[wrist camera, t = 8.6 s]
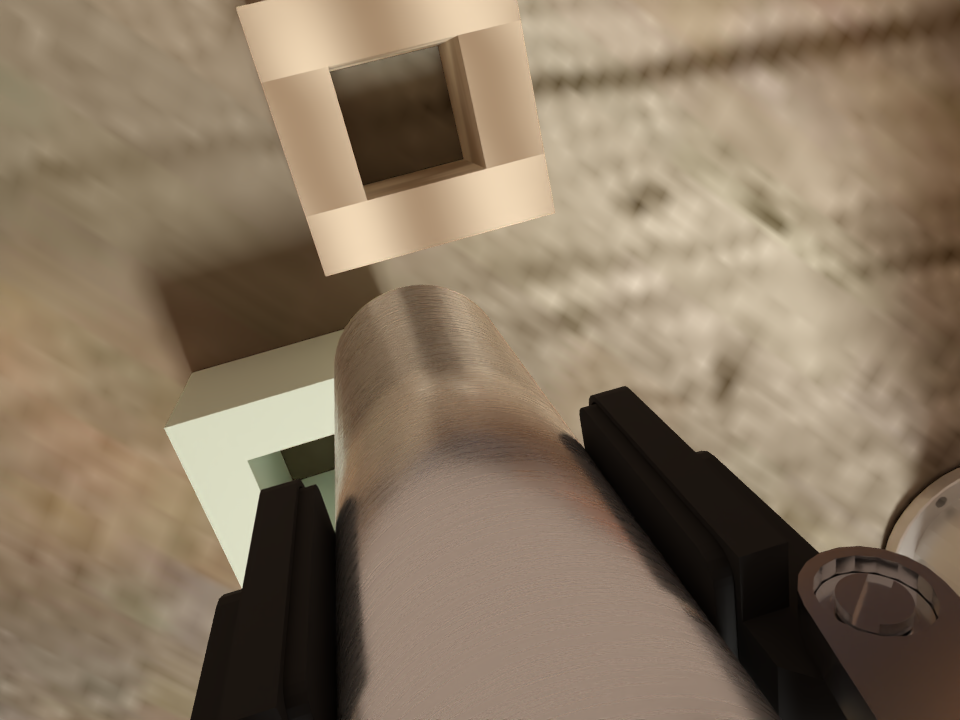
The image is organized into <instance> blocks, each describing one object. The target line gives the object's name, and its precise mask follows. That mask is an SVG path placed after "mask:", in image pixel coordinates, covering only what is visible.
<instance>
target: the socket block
mask: <svg viewBox="0 0 960 720" xmlns="http://www.w3.org/2000/svg"><path fill="white" fill-rule="evenodd" d="M236 10H237V13H238V16H239V19H240V22H241V25H242V28H243V31H244V34H245V37H246V40H247V43H248V46H249V49H250V52H251V55H252V58H253V61H254V64H255V67H256V70H257V73H258V76H259V79H260V82H261V85H262V88H263V91H264V94H265V97H266V100H267V103H268V106H269V109H270V112H271V114H272V117H273V120H274V123H275V126H276V129H277V132H278V135H279V138H280V141H281V144H282V147H283V150H284V153H285V156H286V159H287V162H288V165H289V168H290V171H291V174H292V177H293V180H294V183H295V186H296V189H297V192H298V195H299V198H300V201H301V204H302V207H303V210H304V213H305V216H306V219H307V222H308V225H309V228H310V231H311V234H312V237H313V240H314V243H315V246H316V249H317V252H318V255H319V258H320V261H321V264H322V267H323V270H324V273H325V276H329V275H333V274H337V273H340V272H344V271H348V270H351V269H355V268H358V267H362V266H366V265H369V264H373V263H376V262H380V261H384V260H387V259H391V258H394V257H398V256H402V255H405V254H409V253H413V252H416V251H420V250H423V249H427V248H431V247H434V246H438V245H441V244H445V243H449V242H452V241H456V240H459V239H463V238H467V237H470V236H474V235H477V234H481V233H485V232H488V231H492V230H496V229H499V228H503V227H506V226H510V225H514V224H517V223H521V222H524V221H528V220H532V219H535V218H539V217H542V216H546V215H550V214H553V213H555V209H554V204H553V198H552V193H551V187H550V181H549V176H548V170H547V165H546V159H545V153H544V148H543V142H542V137H541V131H540V125H539V120H538V114H537V109H536V103H535V97H534V92H533V86H532V81H531V75H530V70H529V64H528V58H527V53H526V47H525V42H524V36H523V30H522V25H521V19H520V14H519V8H518V2H517V0H265V1H261V2H256V3H252V4H248V5H243V6H239V7H236ZM434 46H438V49H439V53H440V58H441V62H442V66H443V71H444V75H445V80H446V84H447V88H448V93H449V97H450V101H451V106H452V110H453V115H454V119H455V123H456V128H457V132H458V137H459V141H460V145H461V150H462V154H463V159H462V160H458V161H454V162H450V163H447V164H443V165H439V166H435V167H431V168H428V169H424V170H420V171H416V172H412V173H409V174H405V175H401V176H397V177H393V178H390V179H386V180H382V181H378V182H374V183H371V184H367V185H363V184H362V181H361V178H360V174H359V171H358V167H357V164H356V160H355V157H354V154H353V150H352V147H351V143H350V140H349V137H348V133H347V130H346V126H345V123H344V119H343V116H342V113H341V109H340V106H339V102H338V99H337V96H336V92H335V89H334V85H333V82H332V78H331V75H330V72H331V71H335V70H339V69H343V68H347V67H351V66H355V65H359V64H364V63H368V62H372V61H376V60H380V59H384V58H388V57H392V56H396V55H401V54H405V53H409V52H413V51H417V50H421V49H425V48H429V47H434Z"/></svg>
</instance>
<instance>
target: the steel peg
mask: <svg viewBox="0 0 960 720" xmlns="http://www.w3.org/2000/svg"><path fill="white" fill-rule="evenodd" d="M334 435H335V559H336V682H337V720H782V719H781V718H780V717H779V715H778V714H777V713H776V711H775V710H774V708H773V707H772V706H771V704H770V703H769V702H768V700H767V699H766V698H765V696H764V695H763V693H762V692H761V691H760V689H759V688H758V687H757V685H756V684H755V682H754V681H753V680H752V678H751V677H750V676H749V674H748V673H747V671H746V670H745V669H744V667H743V666H742V665H741V663H740V662H739V660H738V659H737V658H736V656H735V655H734V654H733V652H732V651H731V649H730V648H729V647H728V645H727V644H726V643H725V641H724V640H723V638H722V637H721V636H720V634H719V633H718V632H717V630H716V629H715V628H714V626H713V625H712V623H711V622H710V621H709V619H708V618H707V617H706V615H705V614H704V612H703V611H702V610H701V608H700V607H699V606H698V604H697V603H696V601H695V600H694V599H693V597H692V596H691V595H690V593H689V592H688V590H687V589H686V588H685V586H684V585H683V584H682V582H681V581H680V579H679V578H678V577H677V575H676V574H675V573H674V571H673V570H672V568H671V567H670V566H669V564H668V563H667V562H666V560H665V559H664V558H663V556H662V555H661V553H660V552H659V551H658V549H657V548H656V547H655V545H654V544H653V542H652V541H651V540H650V538H649V537H648V536H647V534H646V533H645V531H644V530H643V529H642V527H641V526H640V525H639V523H638V522H637V520H636V519H635V518H634V516H633V515H632V514H631V512H630V511H629V509H628V508H627V507H626V505H625V504H624V503H623V501H622V500H621V498H620V497H619V496H618V494H617V493H616V492H615V490H614V489H613V488H612V486H611V485H610V483H609V482H608V481H607V479H606V478H605V477H604V475H603V474H602V472H601V471H600V470H599V468H598V467H597V466H596V464H595V463H594V461H593V460H592V459H591V457H590V456H589V455H588V453H587V452H586V450H585V449H584V448H583V446H582V445H581V444H580V442H579V441H578V439H577V438H576V437H575V435H574V434H573V433H572V431H571V430H570V428H569V427H568V426H567V424H566V423H565V422H564V420H563V419H562V418H561V416H560V415H559V413H558V412H557V411H556V409H555V408H554V407H553V405H552V404H551V402H550V401H549V400H548V398H547V397H546V396H545V394H544V393H543V391H542V390H541V389H540V387H539V386H538V385H537V383H536V382H535V380H534V379H533V378H532V376H531V375H530V374H529V372H528V371H527V369H526V368H525V367H524V365H523V364H522V363H521V361H520V360H519V358H518V357H517V356H516V354H515V353H514V352H513V350H512V349H511V348H510V346H509V345H508V343H507V342H506V341H505V339H504V338H503V337H502V335H501V334H500V332H499V331H498V330H497V328H496V327H495V326H494V324H493V323H492V321H491V320H490V319H489V317H488V316H487V315H486V314H485V313H484V311H483V310H482V309H481V308H480V307H479V306H478V305H476V304H475V303H474V302H473V301H471V300H470V299H468V298H467V297H465V296H464V295H462V294H460V293H458V292H456V291H453V290H450V289H447V288H443V287H438V286H432V285H412V286H406V287H401V288H397V289H394V290H391V291H388V292H386V293H384V294H382V295H380V296H378V297H376V298H374V299H373V300H371V301H370V302H368V303H367V304H366V305H365V306H363V307H362V308H361V309H360V310H359V311H358V312H357V313H356V314H355V315H354V316H353V317H352V318H351V320H350V321H349V323H348V324H347V326H346V327H345V329H344V331H343V333H342V335H341V337H340V339H339V342H338V345H337V348H336V353H335V358H334Z"/></svg>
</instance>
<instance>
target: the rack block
mask: <svg viewBox="0 0 960 720" xmlns="http://www.w3.org/2000/svg"><path fill="white" fill-rule="evenodd" d="M343 331H344V329H343V330H340V331H336V332H333V333H329V334H326V335H322V336H319V337H315V338H312V339H308V340H305V341H301V342H298V343H294V344H291V345H287V346H284V347H280V348H277V349H273V350H270V351H266V352H263V353H259V354H256V355H252V356H249V357H245V358H242V359H238V360H235V361H232V362H228V363H225V364H221V365H218V366H214V367H211V368H207V369H204V370H200V371H197V372H193V373H192V374H191V376H190V378H189V380H188V382H187V384H186V386H185V388H184V390H183V392H182V394H181V396H180V398H179V400H178V402H177V404H176V406H175V408H174V410H173V412H172V414H171V416H170V418H169V420H168V422H167V424H166V426H165V428H164V429H165V431H166V433H167V435H168V437H169V439H170V441H171V443H172V445H173V447H174V449H175V451H176V453H177V455H178V458H179V460H180V462H181V464H182V466H183V468H184V470H185V472H186V474H187V476H188V478H189V480H190V482H191V484H192V486H193V488H194V490H195V493H196V495H197V497H198V499H199V501H200V503H201V505H202V507H203V509H204V511H205V513H206V515H207V517H208V519H209V521H210V523H211V526H212V528H213V530H214V532H215V534H216V536H217V538H218V540H219V542H220V544H221V546H222V548H223V550H224V552H225V554H226V556H227V558H228V561H229V563H230V565H231V567H232V569H233V571H234V573H235V575H236V577H237V579H238V581H239V583H240V585H241V587H242V586H243V581H244V576H245V570H246V565H247V559H248V554H249V549H250V543H251V538H252V532H253V527H254V522H255V516H256V511H257V505H258V500H259V495H260V491H261V490H262V489H265V488H269V487H272V486H276V485H279V484H283V483H286V482H290V481H292V478H291V476H290V473H289V471H288V468H287V466H286V464H285V461H284V459H283V456H282V454H281V451H280V450H284V449H287V448H290V447H293V446H297V445H300V444H303V443H307V442H310V441H313V440H317V439H320V438H323V437H326V436H330V435H333V434H334V358H335V353H336V348H337V345H338V342H339V339H340V337H341V335H342V333H343ZM301 481H302V482H303V484H304V486H305V487H308V486H311V485H315V484H316V485H317V486H318V488H319V490H320V492H321V495H322V498H323V501H324V503H325V506H326V509H327V512H328V514H329V517H330V520H331V523H332V526H333V528H334V531H335V469H334V470H331V471H328V472H324V473H321V474H318V475H315V476H312V477H308V478H305V479H302V480H301Z"/></svg>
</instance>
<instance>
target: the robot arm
mask: <svg viewBox="0 0 960 720" xmlns="http://www.w3.org/2000/svg"><path fill="white" fill-rule="evenodd" d="M580 421H581V428H582V434H583V440H584V446H585V450H586V452H587V453H588V455H589V456H590V457H591V459H592V460H593V461H594V463H595V464H596V466H597V467H598V468H599V470H600V471H601V472H602V474H603V475H604V477H605V478H606V479H607V481H608V482H609V483H610V485H611V486H612V488H613V489H614V490H615V492H616V493H617V494H618V496H619V497H620V498H621V500H622V501H623V503H624V504H625V505H626V507H627V508H628V509H629V511H630V512H631V514H632V515H633V516H634V518H635V519H636V520H637V522H638V523H639V525H640V526H641V527H642V529H643V530H644V531H645V533H646V534H647V536H648V537H649V538H650V540H651V541H652V542H653V544H654V545H655V547H656V548H657V549H658V551H659V552H660V553H661V555H662V556H663V558H664V559H665V560H666V562H667V563H668V564H669V566H670V567H671V568H672V570H673V571H674V573H675V574H676V575H677V577H678V578H679V579H680V581H681V582H682V584H683V585H684V586H685V588H686V589H687V590H688V592H689V593H690V595H691V596H692V597H693V599H694V600H695V601H696V603H697V604H698V606H699V607H700V608H701V610H702V611H703V612H704V614H705V615H706V617H707V618H708V619H709V621H710V622H711V623H712V625H713V626H714V628H715V629H716V630H717V632H718V633H719V634H720V636H721V637H722V638H723V640H724V641H725V643H726V644H727V645H728V647H729V648H730V649H731V651H732V652H733V654H734V655H735V656H736V658H737V659H738V660H739V662H740V663H741V665H742V666H743V667H744V669H745V670H746V671H747V673H748V674H749V676H750V677H751V678H752V680H753V681H754V682H755V684H756V685H757V687H758V688H759V689H760V691H761V692H762V693H763V695H764V696H765V698H766V699H767V700H768V702H769V703H770V704H771V706H772V707H773V708H774V710H775V711H776V713H777V714H778V715H779V717H780V718H781V719H782V720H960V468H957V469H955V470H953V471H951V472H949V473H947V474H945V475H943V476H942V477H940V478H939V479H938V480H936V481H935V482H933V483H932V484H930V485H929V486H928V487H927V488H926V489H924V490H923V491H922V492H921V493H920V494H919V495H918V496H917V497H916V498H915V499H914V500H913V501H912V502H911V503H910V505H909V506H908V507H907V508H906V509H905V510H904V512H903V513H902V515H901V516H900V518H899V519H898V521H897V523H896V524H895V526H894V528H893V530H892V532H891V535H890V537H889V539H888V542H887V546H886V549H885V550H884V549H879V548H871V547H863V546H853V547H838V548H835V549H831V550H828V551H824V552H821V553H819V552H818V551H817V550H815V549H814V548H813V547H812V546H811V545H810V544H809V543H808V542H807V541H806V540H805V539H804V538H802V537H801V536H800V535H799V534H798V533H797V532H796V531H795V530H794V529H793V528H792V527H791V526H789V525H788V524H787V523H786V522H785V521H784V520H783V519H782V518H781V517H780V516H779V515H778V514H776V513H775V512H774V511H773V510H772V509H771V508H770V507H769V506H768V505H767V504H766V503H765V502H764V501H762V500H761V499H760V498H759V497H758V496H757V495H756V494H755V493H754V492H753V491H752V490H751V489H749V488H748V487H747V486H746V485H745V484H744V483H743V482H742V481H741V480H740V479H739V478H738V477H736V476H735V475H734V474H733V473H732V472H731V471H730V470H729V469H728V468H727V467H726V466H725V465H723V464H722V463H721V462H720V461H719V460H718V459H717V458H716V457H715V456H713V455H712V454H711V453H709V452H708V451H699V452H695V451H694V450H693V449H691V448H690V447H689V446H688V445H687V444H686V443H685V442H684V441H683V440H682V439H681V438H680V437H679V436H678V435H677V434H676V433H675V432H674V431H673V430H672V429H671V428H670V427H669V426H668V425H667V424H665V423H664V422H663V421H662V420H661V419H660V418H659V417H658V416H657V415H656V414H655V413H654V412H653V411H652V410H651V409H650V408H649V407H648V406H647V405H646V404H645V403H644V402H643V401H642V400H641V399H639V398H638V397H637V396H636V395H635V394H634V393H633V392H632V391H631V390H630V389H629V388H628V387H626V386H623V387H620V388H616V389H613V390H609V391H606V392H602V393H598V394H595V395H591V396H590V398H589V406H587V407H583V408H581V409H580ZM190 720H337V682H336V559H335V531H334V528H333V526H332V523H331V520H330V517H329V514H328V512H327V509H326V506H325V503H324V501H323V498H322V495H321V492H320V490H319V488H318V486H317V485H316V484H315V485H311V486H308V487H305V486H304V484H303V482H302V481H301V480H300V479H297V480H293V481H290V482H286V483H283V484H279V485H276V486H272V487H269V488H265V489H262V490H261V491H260V495H259V500H258V505H257V511H256V516H255V522H254V527H253V532H252V538H251V543H250V549H249V554H248V559H247V565H246V570H245V576H244V581H243V586H242V589H241V590H237V591H234V592H231V593H227V594H224V595H223V596H222V597H221V598H219V601H218V604H217V606H216V610H215V615H214V619H213V623H212V628H211V632H210V637H209V641H208V645H207V650H206V654H205V658H204V663H203V667H202V671H201V676H200V680H199V685H198V689H197V693H196V698H195V702H194V706H193V711H192V715H191V719H190Z"/></svg>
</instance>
